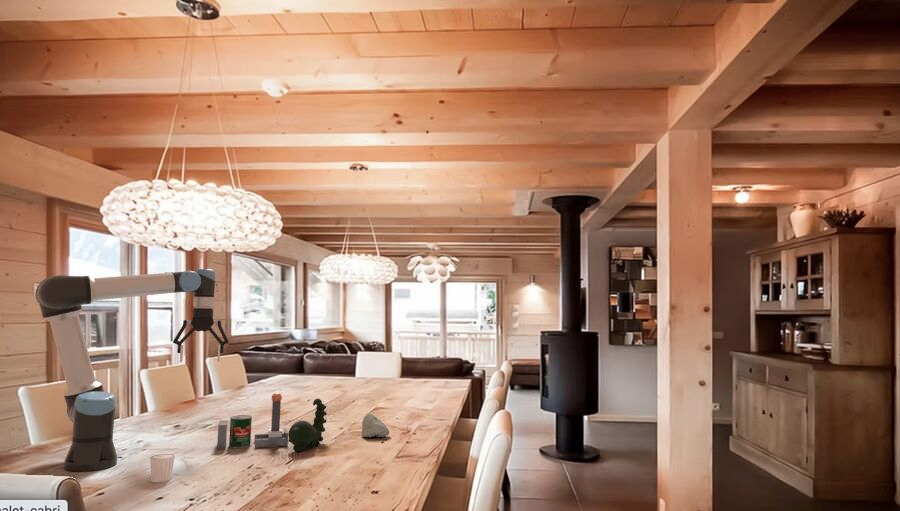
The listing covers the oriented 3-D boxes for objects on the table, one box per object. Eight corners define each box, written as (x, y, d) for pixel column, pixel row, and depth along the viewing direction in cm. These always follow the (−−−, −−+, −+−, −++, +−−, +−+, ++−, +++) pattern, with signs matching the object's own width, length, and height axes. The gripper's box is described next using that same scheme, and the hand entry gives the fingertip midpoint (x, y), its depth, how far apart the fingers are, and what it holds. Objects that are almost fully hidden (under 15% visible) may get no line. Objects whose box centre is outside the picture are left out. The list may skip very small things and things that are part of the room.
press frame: (287, 446, 226) (288, 422, 226) (216, 450, 217) (218, 425, 218) (285, 440, 236) (286, 417, 237) (218, 443, 227) (219, 420, 228)
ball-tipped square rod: (281, 444, 227) (284, 393, 229) (268, 445, 225) (270, 394, 227) (280, 440, 233) (282, 391, 235) (267, 441, 232) (270, 391, 234)
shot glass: (167, 475, 184) (168, 452, 184) (177, 479, 179) (178, 456, 180) (144, 479, 179) (146, 456, 179) (154, 484, 174) (156, 460, 175)
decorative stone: (351, 436, 244) (359, 419, 240) (363, 423, 254) (371, 406, 250) (376, 453, 242) (385, 437, 238) (388, 439, 252) (396, 423, 248)
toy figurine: (308, 445, 235) (278, 453, 212) (312, 397, 239) (283, 400, 215) (330, 446, 233) (301, 455, 209) (334, 398, 237) (306, 401, 213)
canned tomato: (241, 442, 230) (242, 414, 231) (254, 445, 226) (256, 416, 227) (224, 446, 224) (226, 417, 225) (238, 449, 220) (239, 419, 221)
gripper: (236, 308, 239) (233, 360, 237) (170, 307, 231) (166, 361, 229) (236, 308, 232) (233, 362, 230) (167, 307, 224) (163, 362, 222)
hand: (200, 361), depth 229 cm, fingers open, 13 cm apart
